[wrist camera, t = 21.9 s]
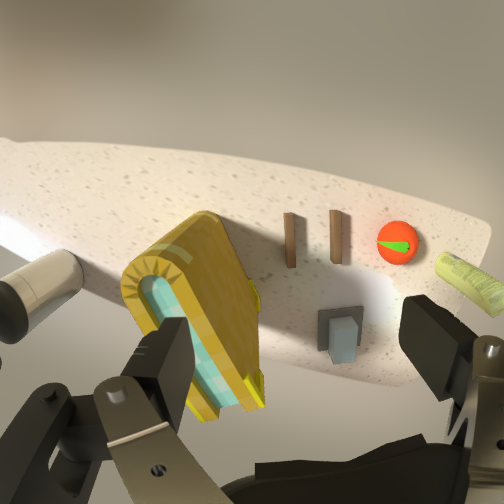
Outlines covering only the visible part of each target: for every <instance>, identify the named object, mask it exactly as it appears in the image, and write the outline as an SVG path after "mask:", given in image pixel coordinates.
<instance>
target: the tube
mask: <svg viewBox="0 0 504 504" xmlns="http://www.w3.org/2000/svg"><path fill="white" fill-rule="evenodd" d="M435 271H436V274H437V275H438V276H439V277H441V278H442V279H443V280H445V281H446V282H448V283H449V284H450V285H452V286H453V287H455V288H456V289H457V290H459V291H460V292H461V293H463V294H464V295H465V296H467V297H468V298H469V299H471V300H472V301H473V302H474V303H476V304H477V305H478V306H480V307H481V308H482V309H483V310H484V311H485V312H486V313H488V314H489V315H490V316H491V317H492V318H494V317H495V316H497V315H498V314H500V313H502V312H503V311H504V284H503V283H501V282H500V281H498V280H497V279H495V278H493V277H492V276H490V275H488V274H487V273H485V272H483V271H481V270H480V269H478V268H476V267H475V266H473V265H471V264H469V263H467V262H466V261H464V260H462V259H460V258H459V257H457V256H455V255H453V254H451V253H448V252H446V253H443V254H441V255H440V256H439V258H438V259H437V261H436V264H435Z"/></svg>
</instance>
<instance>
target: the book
mask: <svg viewBox="0 0 504 504" xmlns="http://www.w3.org/2000/svg"><path fill="white" fill-rule="evenodd" d="M120 287H121V293H122V298H123V300H124V302H125V304H126V305H127V307H128V309H129V311H130V312H131V314H132V316H133V317H134V319H135V321H136V322H137V324H138V326H139V327H140V329H141V331H142V332H143V334H144V335H145V336H146V335H147V334H148V333H150V332H151V331H152V330H158V329H159V327H160V325H161V324H162V322H163V320H164V318H165V317H187V319H188V323H189V328H190V333H191V338H192V343H193V348H194V353H195V370H194V374H193V377H192V381H191V385H190V388H189V392H188V396H187V399H186V404H187V405H188V406H189V408H190V409H191V410H192V412H193V413H194V414H195V415H196V417H197V418H198V419H199V420H200V422H201V423H203V422H208V421H212V420H217V419H219V412H220V408H222V407H226V406H230V405H233V404H237V403H240V404H241V405H242V407H243V409H244V410H245V412H248V411H252V410H255V409H259V408H263V407H265V397H264V376H263V374H262V372H261V370H260V369H259V338H258V312H261V307H260V297H259V295H258V293H257V291H256V289H255V286H254V284H253V282H252V280H251V279H249V280H248V278H247V276H246V274H245V272H244V270H243V268H242V265H241V263H240V261H239V259H238V257H237V255H236V252H235V250H234V248H233V246H232V244H231V242H230V239H229V237H228V235H227V233H226V231H225V228H224V226H223V224H222V222H221V220H220V218H219V217H218V216H217V215H216V214H215V213H212V212H209V211H199V212H197V213H195V214H193V215H192V216H190V217H189V218H188V219H186V220H185V221H184V222H182V223H181V224H179V225H178V226H177V227H175V228H174V229H173V230H171V231H170V232H169V233H168V234H166V235H165V236H164V237H162V238H161V239H160V240H158V241H157V242H156V243H154V244H153V245H152V246H151V247H149V248H148V249H147V250H145V251H144V252H143V253H142V254H140V255H139V256H138V257H137V258H135V259H134V260H133V261H132V262H131V263H130V264H129V265H128V266H127V268H126V269H125V270H124V271H123V274H122V279H121V283H120Z"/></svg>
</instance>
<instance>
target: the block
mask: <svg viewBox="0 0 504 504" xmlns="http://www.w3.org/2000/svg"><path fill="white" fill-rule="evenodd" d="M357 336H358V326H357V324H356V322H355V321H354V319H353V318H352V316H346V317H338V318H330V319H329V351H328V352H329V354H330V357H331V360H332V362H333V364H339V363H345V362H351V361H355V358H356V348H357Z"/></svg>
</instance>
